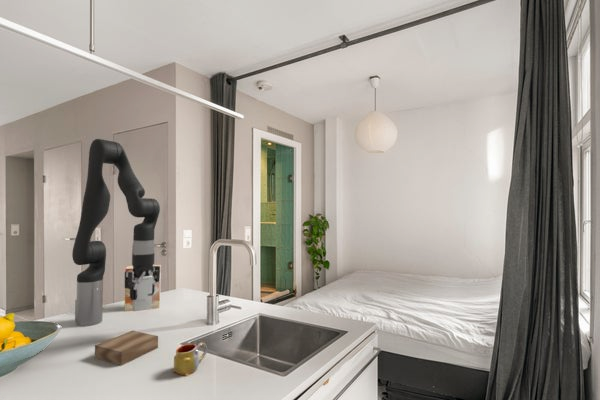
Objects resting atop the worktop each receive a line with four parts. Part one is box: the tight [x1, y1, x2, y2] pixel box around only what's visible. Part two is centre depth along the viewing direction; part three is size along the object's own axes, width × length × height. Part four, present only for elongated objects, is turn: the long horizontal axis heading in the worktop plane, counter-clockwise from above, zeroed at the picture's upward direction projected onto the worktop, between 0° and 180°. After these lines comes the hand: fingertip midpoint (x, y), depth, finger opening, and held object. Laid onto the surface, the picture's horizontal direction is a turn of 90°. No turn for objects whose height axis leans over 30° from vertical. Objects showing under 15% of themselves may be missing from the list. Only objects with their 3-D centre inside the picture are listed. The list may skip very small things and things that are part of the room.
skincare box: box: [132, 276, 153, 312], centre depth 125 cm, size 6×4×12 cm
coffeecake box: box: [124, 264, 162, 312], centre depth 161 cm, size 15×7×20 cm, turn 111°
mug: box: [172, 342, 208, 377], centre depth 102 cm, size 12×7×7 cm, turn 150°
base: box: [94, 330, 159, 366], centre depth 111 cm, size 12×14×4 cm
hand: (142, 296), depth 125 cm, fingers closed on skincare box, 7 cm apart
